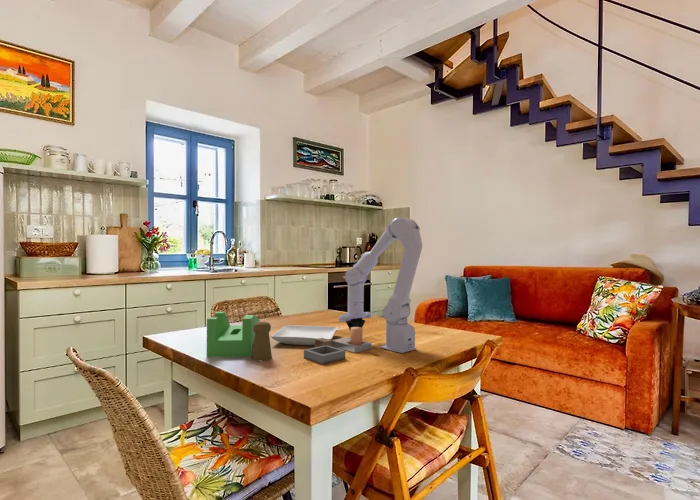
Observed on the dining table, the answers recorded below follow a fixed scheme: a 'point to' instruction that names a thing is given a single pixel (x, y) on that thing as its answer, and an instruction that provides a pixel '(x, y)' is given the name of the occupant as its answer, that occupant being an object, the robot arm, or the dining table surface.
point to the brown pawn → (261, 342)
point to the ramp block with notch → (230, 336)
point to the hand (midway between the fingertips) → (355, 339)
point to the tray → (324, 354)
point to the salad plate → (303, 334)
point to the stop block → (322, 342)
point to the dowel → (356, 335)
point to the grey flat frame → (351, 345)
